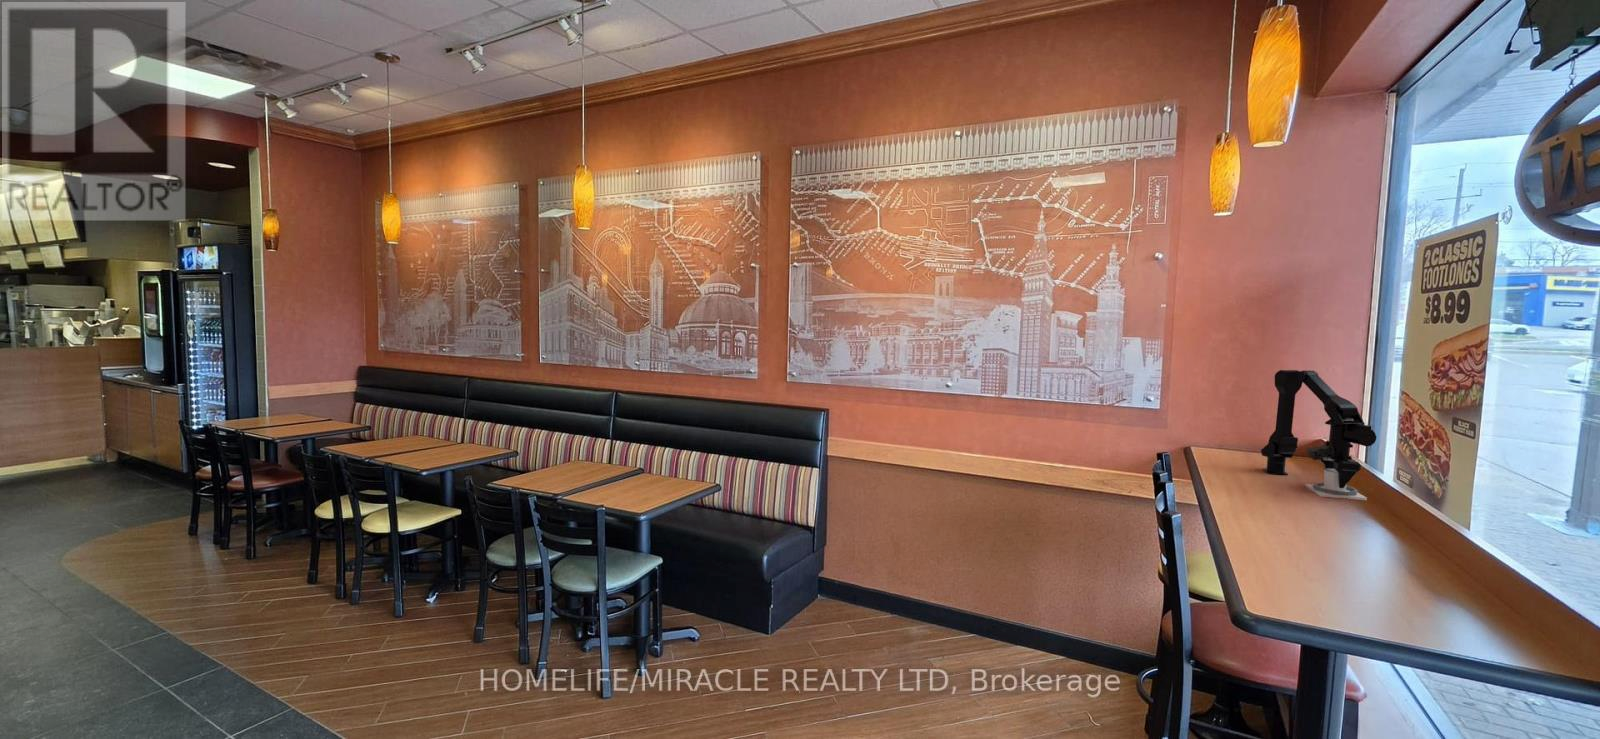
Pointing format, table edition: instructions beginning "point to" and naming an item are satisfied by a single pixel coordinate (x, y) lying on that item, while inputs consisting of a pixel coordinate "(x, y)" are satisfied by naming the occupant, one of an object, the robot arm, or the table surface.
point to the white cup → (1332, 480)
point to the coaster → (1335, 492)
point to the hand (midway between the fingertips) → (1335, 484)
